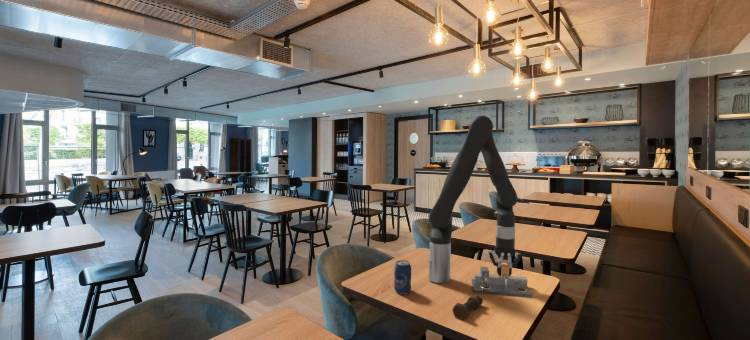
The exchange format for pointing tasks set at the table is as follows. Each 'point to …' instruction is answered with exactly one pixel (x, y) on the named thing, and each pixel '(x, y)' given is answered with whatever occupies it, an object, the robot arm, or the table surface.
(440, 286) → the table surface
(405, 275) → the soda can
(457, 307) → the dark brown lobed piece
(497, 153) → the robot arm
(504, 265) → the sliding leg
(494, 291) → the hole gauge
